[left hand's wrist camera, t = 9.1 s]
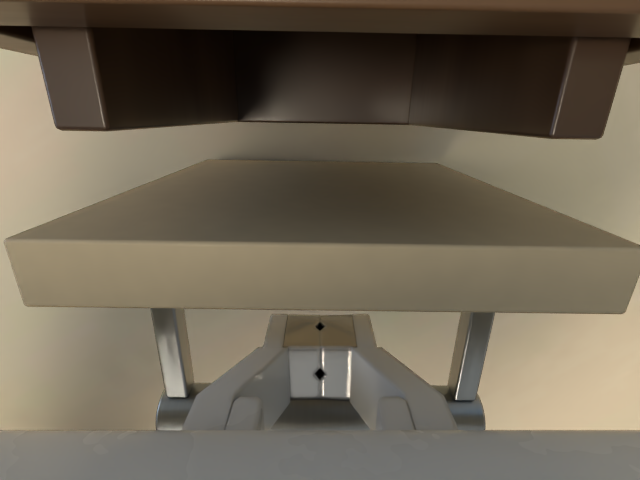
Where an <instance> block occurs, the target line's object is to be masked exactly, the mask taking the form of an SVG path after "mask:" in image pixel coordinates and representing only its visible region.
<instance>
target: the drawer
mask: <svg viewBox="0 0 640 480" xmlns="http://www.w3.org/2000/svg"><path fill="white" fill-rule="evenodd" d="M31 28H32V32H33V36H34V40H35V44H36V49H37V53H38V57H39V61H40V65H41V69H42V74H43V78H44V82H45V86H46V90H47V94H48V98H49V103H50V107H51V111H52V115H53V119H54V123H55V126H56V128H57V129H60V130H62V131H118V130H132V129H146V128H159V127H173V126H187V125H201V124H214V123H228V122H277V123H335V124H393V125H417V126H427V127H437V128H447V129H457V130H467V131H477V132H488V133H498V134H508V135H518V136H528V137H538V138H548V139H592V140H596V139H599V138H601V137H602V136H603V134H604V130H605V127H606V123H607V120H608V116H609V113H610V110H611V106H612V103H613V99H614V96H615V92H616V89H617V86H618V82H619V79H620V75H621V72H622V68H623V65H624V62H625V58H626V55H627V51H628V48H629V44H630V41H631V38H624V37H572V36H520V35H468V34H417V33H365V32H313V31H261V30H209V29H158V28H106V27H54V26H31ZM4 245H5V248H6V251H7V254H8V257H9V260H10V263H11V266H12V269H13V272H14V275H15V278H16V281H17V284H18V287H19V290H20V294H21V297H22V300H23V303H24V304H25V306H32V307H110V308H150V309H151V314H152V320H153V325H154V331H155V337H156V342H157V348H158V353H159V359H160V364H161V370H162V375H163V381H164V386H165V390H164V391H163V393H162V396H161V398H160V401H159V404H158V408H157V414H156V430H182V427H183V425H184V423H185V420H186V418H187V416H188V414H189V411H190V409H191V407H192V405H193V402H194V400H195V398H196V395H197V394H199V393H200V392H201V391H203V390H204V389H205V388H206V387H208V386H209V385H210V384H212V383H194V377H193V370H192V363H191V355H190V348H189V341H188V334H187V327H186V320H185V313H184V308H187V309H265V310H343V311H420V312H461V315H460V320H459V326H458V331H457V337H456V342H455V347H454V353H453V358H452V364H451V369H450V374H449V380H448V386H432V387H433V388H435V389H436V390H437V391H438V392H440V393H441V394H442V395H444V397H445V399H446V402H447V404H448V406H449V409H450V411H451V413H452V416H453V418H454V420H455V423H456V425H457V427H458V429H459V430H485V415H484V410H483V406H482V403H481V400H480V398H479V396H478V394H477V391H478V386H479V382H480V377H481V373H482V368H483V364H484V360H485V355H486V351H487V346H488V342H489V337H490V333H491V328H492V324H493V320H494V315H495V312H498V313H575V314H623V313H625V312H626V309H627V307H628V304H629V301H630V299H631V296H632V293H633V291H634V288H635V286H636V283H637V280H638V278H639V275H640V245H638V244H636V243H633V242H631V241H628V240H626V239H623V238H621V237H618V236H616V235H613V234H611V233H608V232H606V231H603V230H601V229H598V228H596V227H594V226H591V225H589V224H586V223H584V222H581V221H579V220H576V219H574V218H571V217H569V216H566V215H564V214H561V213H559V212H556V211H554V210H551V209H549V208H546V207H544V206H541V205H539V204H536V203H534V202H532V201H529V200H527V199H524V198H522V197H519V196H517V195H514V194H512V193H509V192H507V191H504V190H502V189H499V188H497V187H494V186H492V185H489V184H487V183H484V182H482V181H479V180H477V179H474V178H472V177H470V176H467V175H465V174H462V173H460V172H457V171H455V170H452V169H450V168H447V167H445V166H442V165H440V164H437V163H387V162H326V161H265V160H205V161H203V162H200V163H198V164H195V165H193V166H190V167H187V168H185V169H182V170H180V171H177V172H175V173H172V174H170V175H167V176H164V177H162V178H159V179H157V180H154V181H152V182H149V183H147V184H144V185H141V186H139V187H136V188H134V189H131V190H129V191H126V192H124V193H121V194H118V195H116V196H113V197H111V198H108V199H106V200H103V201H101V202H98V203H96V204H93V205H90V206H88V207H85V208H83V209H80V210H78V211H75V212H73V213H70V214H67V215H65V216H62V217H60V218H57V219H55V220H52V221H50V222H47V223H44V224H42V225H39V226H37V227H34V228H32V229H29V230H27V231H24V232H21V233H19V234H16V235H14V236H11V237H9V238H6V239H5V240H4ZM270 430H370V428H369V427H368V426H367V424H366V423H365V422H364V420H363V419H362V418H361V416H360V415H359V414H358V412H357V411H356V410H355V408H354V407H353V406H352V404H351V403H350V401H348V400H290V403H289V405H288V406H287V407H286V409H285V410H284V411H283V413H282V414H281V415H280V417H279V418H278V419H277V421H276V422H275V423H274V425H273V426H272V427H271V429H270Z"/></svg>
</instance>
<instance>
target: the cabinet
mask: <svg viewBox="0 0 640 480" xmlns="http://www.w3.org/2000/svg"><path fill="white" fill-rule="evenodd" d="M31 26H54V27H106V28H158V29H209V30H261V31H313V32H365V33H417V34H468V35H520V36H572V37H624V38H631V41H630V44H629V48H628V51H627V55H626V58H625V62H624V65H629V64H635V63H640V0H0V48H2V49H7V50H11V51H16V52H21V53H25V54H30V55H35V56H38V53H37V49H36V44H35V40H34V36H33V32H32V28H31Z"/></svg>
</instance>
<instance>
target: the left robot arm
mask: <svg viewBox="0 0 640 480" xmlns="http://www.w3.org/2000/svg"><path fill="white" fill-rule="evenodd" d="M290 400H348V401H350V403H351V404H352V406H353V407H354V408H355V410H356V411H357V412H358V414H359V415H360V416H361V418H362V419H363V420H364V422H365V423H366V424H367V426H368V427H369V428H370V430H270V429H271V427H272V426H273V425H274V423H275V422H276V421H277V419H278V418H279V417H280V415H281V414H282V413H283V411H284V410H285V409H286V407H287V406H288V405H289V403H290ZM0 480H640V430H459V429H458V427H457V425H456V423H455V420H454V418H453V416H452V413H451V411H450V409H449V406H448V404H447V402H446V399H445V397H444V395H442V394H441V393H440V392H438V391H437V390H436V389H435V388H433V387H432V386H431V385H429V384H428V383H427V382H426V381H424V380H423V379H422V378H420V377H419V376H418V375H417V374H415V373H414V372H413V371H411V370H410V369H409V368H408V367H406V366H405V365H404V364H402V363H401V362H400V361H399V360H397V359H396V358H395V357H393V356H392V355H391V354H390V353H388V352H387V351H386V350H384V349H383V348H382V347H377V345H376V341H375V337H374V333H373V329H372V325H371V321H370V317H369V315H368V314H355V315H296V314H289V315H288V314H272V315H271V317H270V321H269V325H268V329H267V333H266V337H265V341H264V346H263V347H258V348H257V349H256V350H254V351H253V352H252V353H250V354H249V355H248V356H247V357H245V358H244V359H243V360H241V361H240V362H239V363H238V364H236V365H235V366H234V367H232V368H231V369H230V370H228V371H227V372H226V373H225V374H223V375H222V376H221V377H219V378H218V379H217V380H216V381H214V382H213V383H212V384H210V385H209V386H208V387H206V388H205V389H204V390H203V391H201V392H200V393H199V394H197V395H196V398H195V400H194V402H193V405H192V407H191V409H190V411H189V414H188V416H187V418H186V420H185V423H184V425H183V427H182V430H0Z"/></svg>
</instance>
